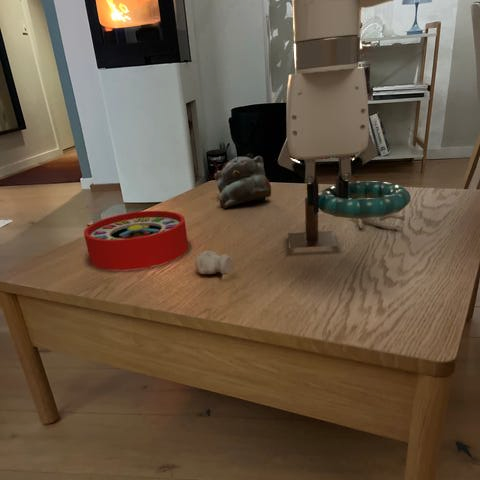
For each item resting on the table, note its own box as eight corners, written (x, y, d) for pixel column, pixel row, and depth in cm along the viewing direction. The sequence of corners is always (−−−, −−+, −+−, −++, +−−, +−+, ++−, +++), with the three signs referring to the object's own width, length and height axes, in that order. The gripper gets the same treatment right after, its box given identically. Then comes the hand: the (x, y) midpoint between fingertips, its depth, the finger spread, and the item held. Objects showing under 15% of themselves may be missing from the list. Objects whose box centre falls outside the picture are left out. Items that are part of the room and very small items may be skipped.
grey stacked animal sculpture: (211, 210, 122) (200, 157, 122) (230, 216, 133) (220, 168, 133) (265, 192, 116) (253, 137, 116) (280, 200, 127) (269, 150, 127)
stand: (332, 236, 97) (333, 191, 93) (337, 251, 89) (338, 202, 85) (288, 238, 98) (287, 193, 94) (289, 253, 90) (288, 205, 86)
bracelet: (397, 193, 69) (398, 176, 68) (419, 216, 59) (420, 197, 58) (314, 199, 71) (314, 183, 69) (321, 223, 60) (321, 204, 59)
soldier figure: (387, 240, 95) (337, 215, 100) (389, 248, 100) (341, 224, 105) (409, 207, 95) (358, 184, 100) (410, 218, 100) (361, 195, 105)
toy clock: (129, 208, 107) (203, 213, 98) (134, 233, 110) (206, 241, 101) (61, 235, 92) (141, 245, 83) (69, 263, 95) (147, 276, 85)
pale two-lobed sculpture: (193, 278, 86) (213, 262, 88) (220, 289, 80) (241, 271, 82) (184, 258, 83) (205, 242, 85) (211, 268, 78) (233, 251, 80)
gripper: (389, 51, 59) (382, 198, 68) (259, 64, 61) (268, 207, 69) (403, 49, 52) (393, 213, 61) (257, 64, 54) (268, 222, 63)
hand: (327, 208), depth 65 cm, fingers closed on bracelet, 2 cm apart
